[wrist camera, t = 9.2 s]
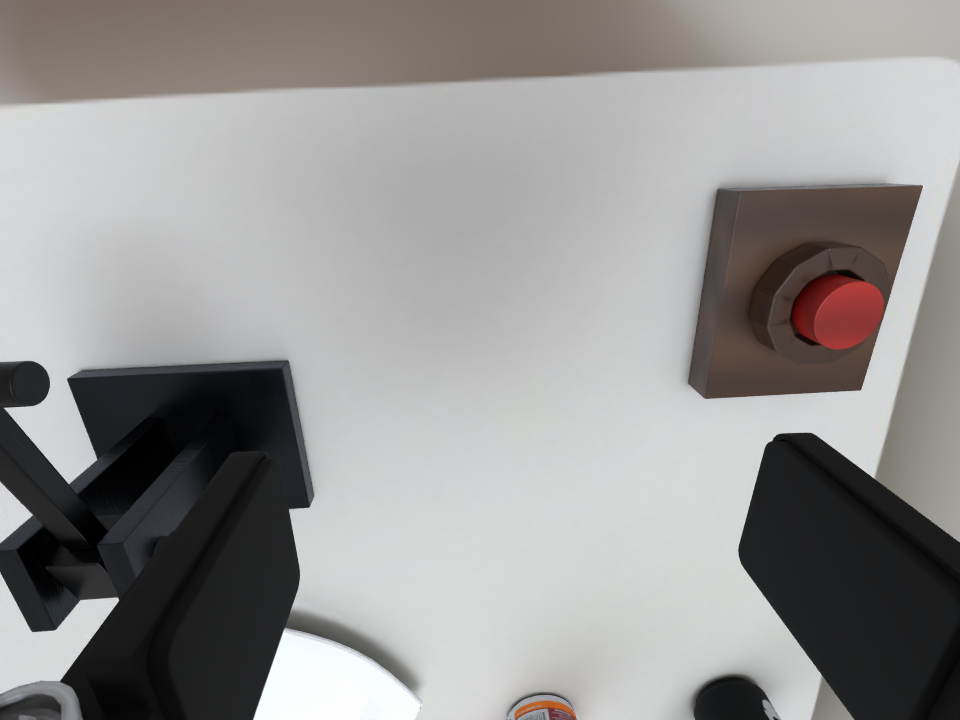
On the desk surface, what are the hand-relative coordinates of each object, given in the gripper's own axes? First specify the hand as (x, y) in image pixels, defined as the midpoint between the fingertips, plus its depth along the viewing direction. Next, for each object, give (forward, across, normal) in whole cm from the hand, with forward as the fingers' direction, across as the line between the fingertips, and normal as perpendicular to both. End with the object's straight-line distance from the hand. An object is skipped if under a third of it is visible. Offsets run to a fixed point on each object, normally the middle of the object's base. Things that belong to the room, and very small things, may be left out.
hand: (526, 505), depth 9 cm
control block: (+20, -19, +1) cm, 28 cm away
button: (+17, -19, +1) cm, 25 cm away
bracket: (+20, +17, +10) cm, 28 cm away
